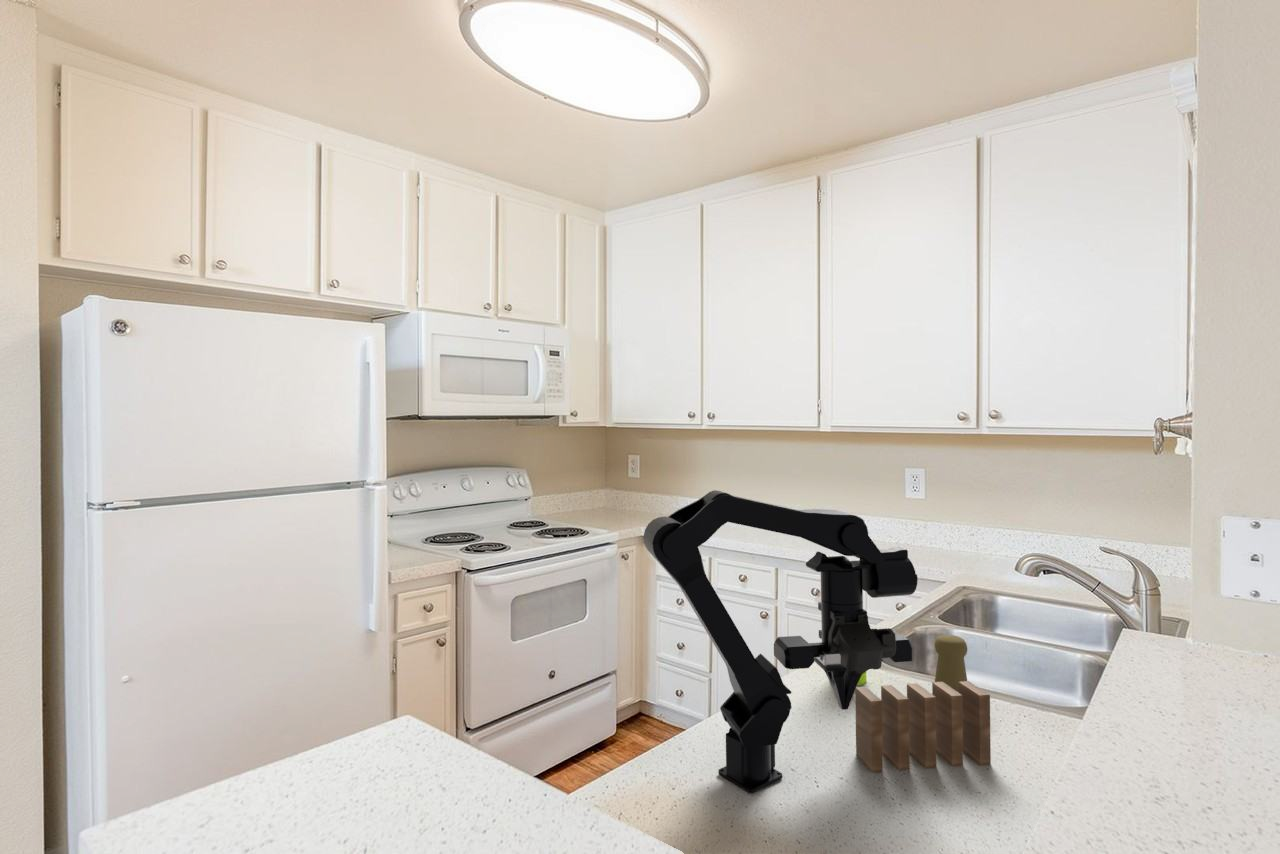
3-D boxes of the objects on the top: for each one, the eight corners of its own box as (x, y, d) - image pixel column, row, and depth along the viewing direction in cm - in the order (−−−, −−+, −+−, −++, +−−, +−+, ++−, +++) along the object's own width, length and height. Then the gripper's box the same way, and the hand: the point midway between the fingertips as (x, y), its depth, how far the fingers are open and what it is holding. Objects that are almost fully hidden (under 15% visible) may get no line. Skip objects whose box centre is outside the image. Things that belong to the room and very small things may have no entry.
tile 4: (952, 766, 95) (951, 695, 95) (932, 748, 100) (932, 682, 100) (962, 765, 95) (962, 695, 95) (943, 748, 100) (942, 681, 100)
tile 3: (925, 768, 94) (925, 697, 94) (907, 750, 99) (906, 683, 99) (936, 767, 94) (935, 697, 94) (917, 750, 99) (917, 683, 99)
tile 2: (899, 770, 94) (897, 699, 94) (882, 752, 99) (881, 685, 99) (909, 769, 94) (908, 698, 94) (892, 752, 99) (891, 684, 99)
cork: (975, 707, 113) (974, 643, 113) (937, 705, 115) (936, 641, 115) (965, 693, 119) (964, 632, 119) (929, 691, 121) (928, 630, 120)
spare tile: (980, 765, 95) (979, 695, 95) (959, 748, 100) (958, 681, 100) (990, 764, 95) (989, 694, 95) (969, 747, 100) (968, 681, 100)
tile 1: (871, 772, 93) (870, 701, 93) (856, 754, 98) (855, 687, 98) (882, 771, 94) (881, 700, 93) (866, 754, 98) (865, 686, 98)
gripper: (798, 620, 86) (800, 740, 86) (934, 612, 88) (936, 729, 88) (771, 597, 97) (773, 704, 97) (893, 590, 99) (894, 695, 100)
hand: (843, 708), depth 95 cm, fingers closed
